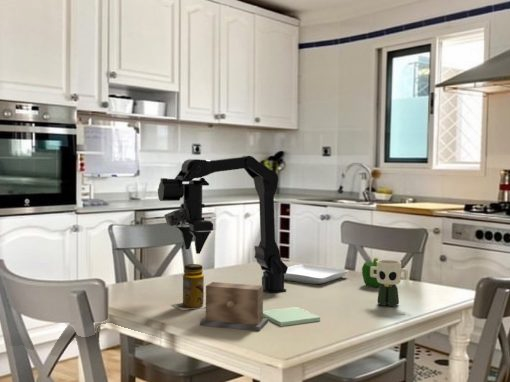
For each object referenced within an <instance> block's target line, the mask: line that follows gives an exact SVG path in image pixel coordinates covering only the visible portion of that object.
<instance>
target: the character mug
mask: <svg viewBox="0 0 510 382" xmlns="http://www.w3.org/2000/svg"><path fill="white" fill-rule="evenodd" d="M376 262H377V267H375V266H372V267H371V268H370V276H371V277H375V278H377V281H378V282H379V283H381V285H380V287H378V292H377V293H378V294H377V295H378V296H377V304H379V305H381V306H386V304H387V305H388V306H392V307H394V306H398V305H399V303H400V300H399V299H400V298H399V291H398V287H397V285H399V284H400V283H401V281H403V280H404V281H406V280H408V272H409V271H408V269H407V268H402V262H401V261H399V260H394V259H380V260H379V259H378V261H376ZM374 270H377V274H374ZM402 273H403V274H404V275H402Z"/></svg>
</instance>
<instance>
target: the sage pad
mask: <svg viewBox="0 0 510 382" xmlns="http://www.w3.org/2000/svg"><path fill="white" fill-rule="evenodd" d="M263 318H266V319H268V321H270V322H273V323H274V324H277V325H278V326H280V327H286V326H291V325H292V326H293V325H299V324H300V325H301V324H306V323H307V324H308V323H313V322H320V321H321V317H320V316H319V315H316V314H314V313H312V312H309V311H307V310H306V309H303V308H301V307H298V306H293V307H284V308H277V309H276V308H275V309H268V310H263Z"/></svg>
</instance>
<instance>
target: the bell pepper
mask: <svg viewBox="0 0 510 382" xmlns="http://www.w3.org/2000/svg"><path fill="white" fill-rule="evenodd" d="M378 260H379V258H378V257H374V258H373V260H372V262H370V261H366V262H365V261H364V263H363V265H362V267H361V273H362V278H363V283H364V284H365V285H366V286H367V287H373V288H379V287H380V285H381V283H379V282H378V281H377V278H375V277H371V276H370V268H371V267H372V266H375V267H377V261H378ZM374 274H377V270H374Z"/></svg>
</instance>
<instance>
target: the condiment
mask: <svg viewBox="0 0 510 382" xmlns="http://www.w3.org/2000/svg"><path fill="white" fill-rule="evenodd" d="M183 272H184V274H183V275H182V302H180V303H171V305H172V306H173V307H175V308H177V309H179V310H180V311H188V310H192V309H193V310H195V309H202V308H203V309H204V308H206V304H204V301H205V300H204V297H205V293H204V290H205V287H204V286H205V285H204V284H205V283H204V281H205V278H204V274H203V265H202V264H199V263H191V264H190V263H189V264H186V265H185V266H184V270H183Z"/></svg>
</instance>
